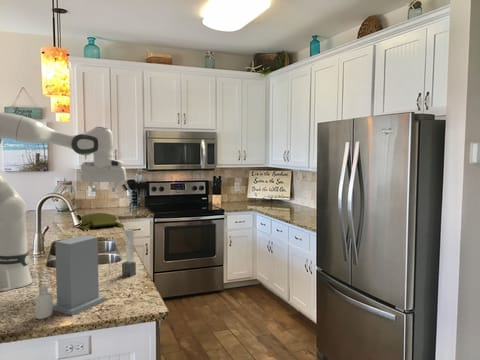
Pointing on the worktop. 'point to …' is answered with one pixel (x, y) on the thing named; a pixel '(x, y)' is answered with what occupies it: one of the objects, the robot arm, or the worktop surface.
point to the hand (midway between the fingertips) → (104, 191)
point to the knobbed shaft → (129, 256)
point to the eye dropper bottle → (44, 303)
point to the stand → (77, 274)
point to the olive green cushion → (99, 220)
